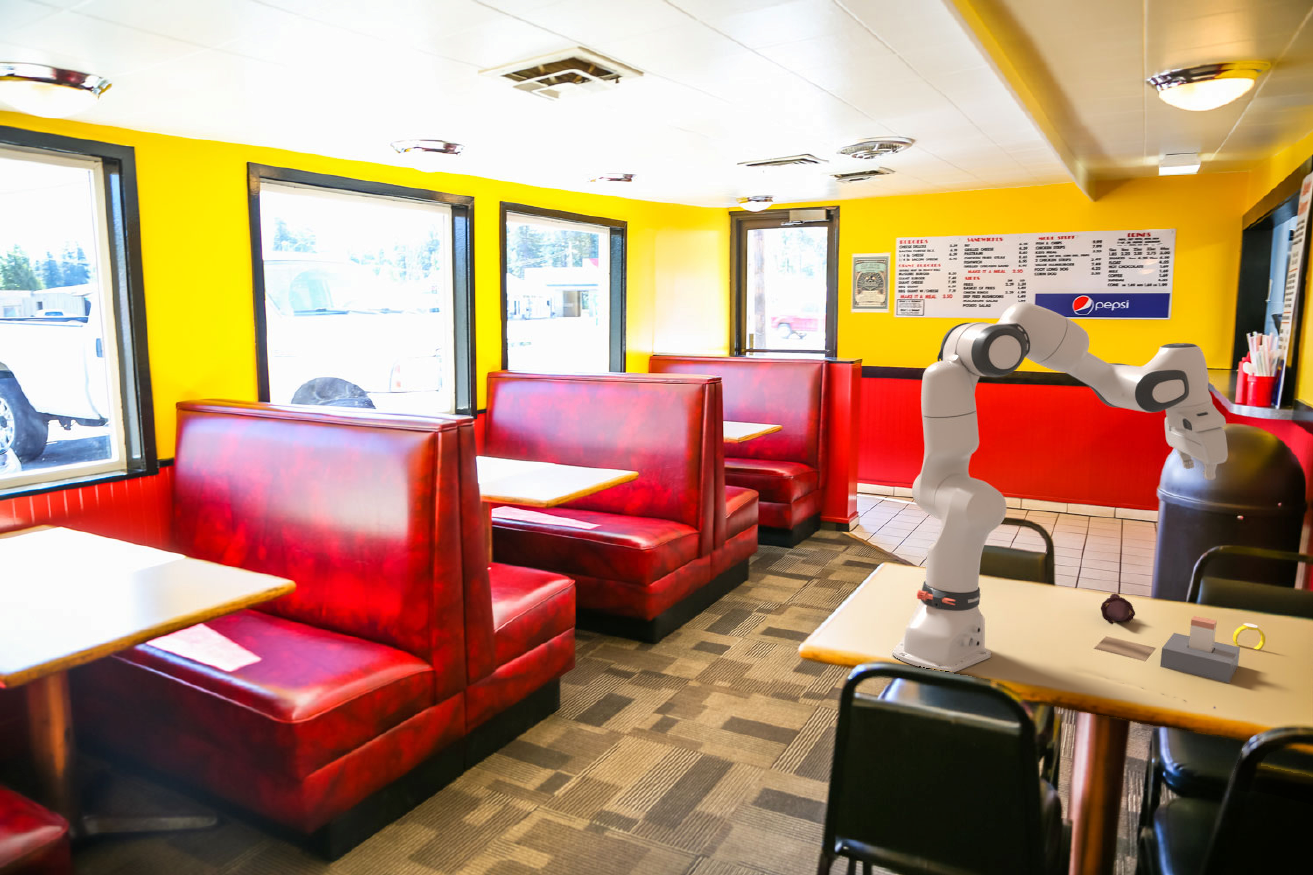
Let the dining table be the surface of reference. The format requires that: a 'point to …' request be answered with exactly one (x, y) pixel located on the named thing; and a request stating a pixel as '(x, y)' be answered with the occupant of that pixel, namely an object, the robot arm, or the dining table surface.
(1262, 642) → the watch
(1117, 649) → the pad
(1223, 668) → the block
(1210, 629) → the plug
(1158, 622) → the dining table surface
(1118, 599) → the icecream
